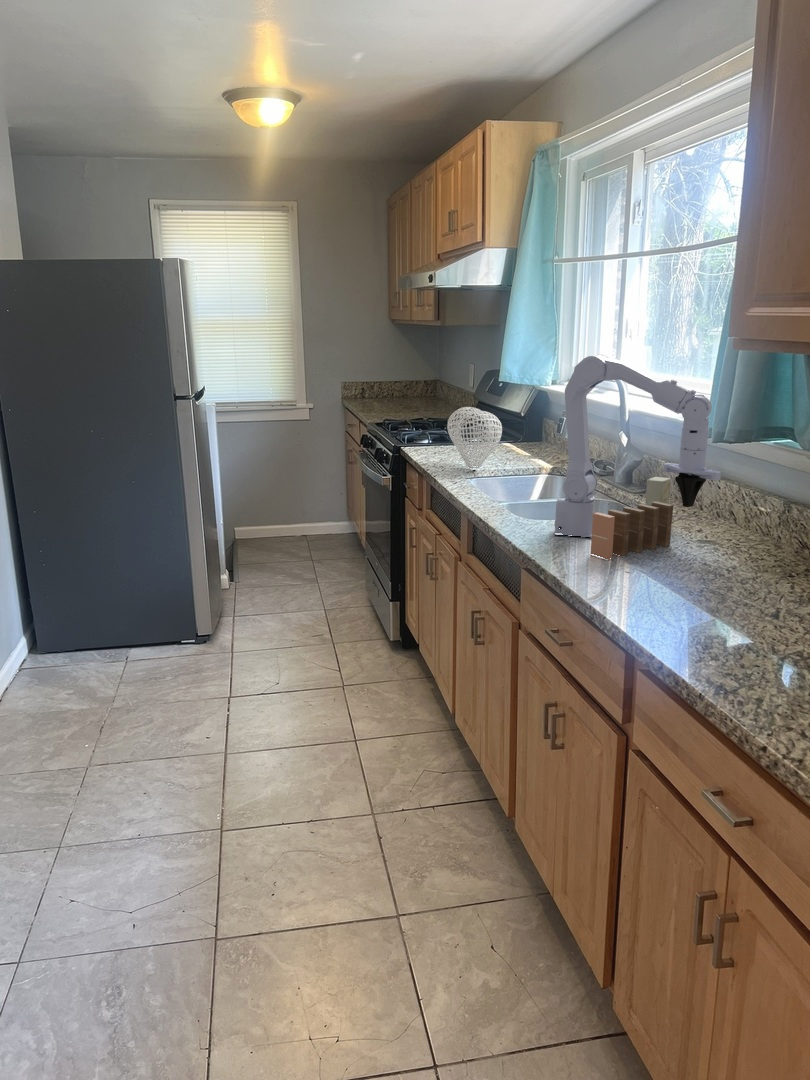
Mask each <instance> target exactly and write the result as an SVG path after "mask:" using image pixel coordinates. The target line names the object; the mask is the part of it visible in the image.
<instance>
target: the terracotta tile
mask: <svg viewBox="0 0 810 1080" xmlns="http://www.w3.org/2000/svg"><path fill="white" fill-rule="evenodd" d="M614 520H615V516H611V515H608V513H603V512H598V511H597V512H594V513H593V520H592V537H591V538H590V541H591V542H590V554H594V555H597V556H600V557H603V558H605V559H610V558H612V559H613V554H612V550H613V535H614Z"/></svg>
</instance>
